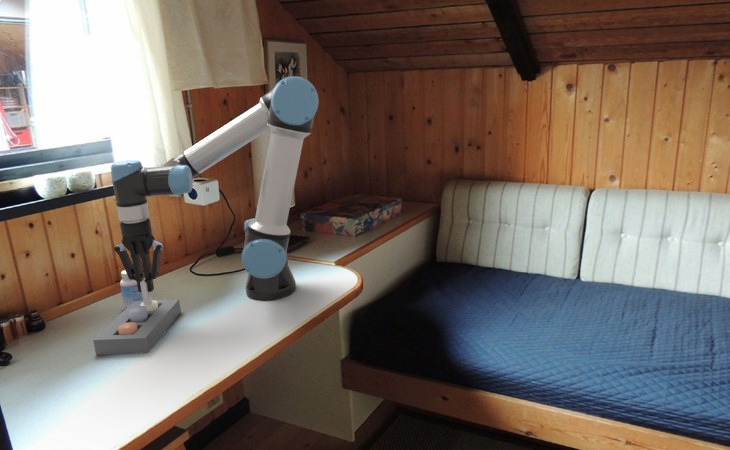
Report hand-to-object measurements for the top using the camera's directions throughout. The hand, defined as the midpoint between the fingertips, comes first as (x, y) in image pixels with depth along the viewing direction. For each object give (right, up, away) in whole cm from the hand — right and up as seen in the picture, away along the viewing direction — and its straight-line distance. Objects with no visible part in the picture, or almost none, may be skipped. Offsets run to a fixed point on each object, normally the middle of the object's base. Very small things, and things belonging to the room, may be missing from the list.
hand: (148, 302), depth 158 cm
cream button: (0, -4, +1) cm, 4 cm away
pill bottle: (-8, -3, +12) cm, 15 cm away
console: (0, -7, -5) cm, 9 cm away
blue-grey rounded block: (0, -5, -6) cm, 8 cm away
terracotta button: (0, -8, -12) cm, 15 cm away
